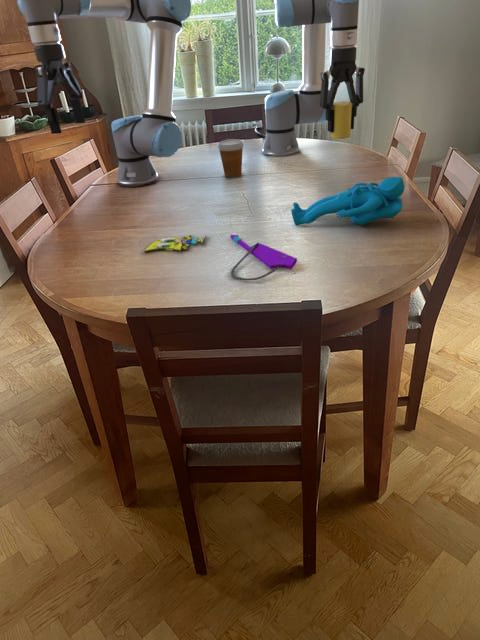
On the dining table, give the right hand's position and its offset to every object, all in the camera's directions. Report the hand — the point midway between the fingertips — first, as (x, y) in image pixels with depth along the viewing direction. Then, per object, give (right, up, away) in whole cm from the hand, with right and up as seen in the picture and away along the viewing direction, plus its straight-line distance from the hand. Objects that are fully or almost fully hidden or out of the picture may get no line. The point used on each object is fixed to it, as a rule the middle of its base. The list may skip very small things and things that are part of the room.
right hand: (340, 129), depth 153 cm
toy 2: (-3, -34, -19) cm, 39 cm away
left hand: (-82, -5, -13) cm, 83 cm away
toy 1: (-49, -40, -22) cm, 67 cm away
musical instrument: (-30, -46, -34) cm, 65 cm away
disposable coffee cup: (-35, -6, +28) cm, 45 cm away
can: (0, -2, +1) cm, 2 cm away
